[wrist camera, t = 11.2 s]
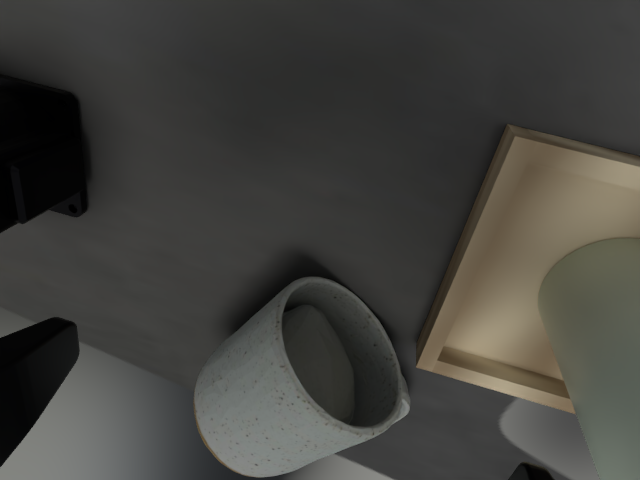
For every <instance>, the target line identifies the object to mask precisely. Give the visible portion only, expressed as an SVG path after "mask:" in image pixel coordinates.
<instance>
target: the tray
mask: <svg viewBox="0 0 640 480" xmlns="http://www.w3.org/2000/svg"><path fill="white" fill-rule="evenodd" d="M616 238H638V239H640V156H636V155H632V154H628V153H624V152H620V151H616V150H612V149H608V148H604V147H600V146H596V145H592V144H587V143H583V142H579V141H575V140H571V139H567V138H563V137H559V136H555V135H551V134H547V133H543V132H539V131H534V130H530V129H526V128H522V127H518V126H514V125H510V124H507V126H506V128H505V130H504V133H503V135H502V138H501V140H500V142H499V145H498V147H497V150H496V152H495V155H494V157H493V159H492V162H491V164H490V167H489V169H488V171H487V174H486V176H485V179H484V181H483V184H482V186H481V188H480V191H479V193H478V196H477V198H476V201H475V203H474V205H473V208H472V210H471V213H470V215H469V217H468V220H467V222H466V225H465V227H464V230H463V232H462V234H461V237H460V239H459V242H458V244H457V246H456V249H455V251H454V254H453V256H452V259H451V261H450V263H449V266H448V268H447V271H446V273H445V275H444V278H443V280H442V283H441V285H440V288H439V290H438V292H437V295H436V297H435V300H434V302H433V305H432V307H431V309H430V312H429V314H428V317H427V319H426V321H425V324H424V326H423V329H422V331H421V334H420V336H419V338H418V341H417V347H416V367H417V368H421V369H424V370H427V371H431V372H434V373H438V374H441V375H444V376H448V377H451V378H455V379H458V380H461V381H465V382H468V383H472V384H475V385H478V386H482V387H485V388H489V389H492V390H495V391H499V392H502V393H506V394H509V395H512V396H516V397H519V398H523V399H526V400H529V401H533V402H536V403H540V404H543V405H546V406H550V407H553V408H557V409H560V410H563V411H567V412H570V413H574V414H576V413H575V410H574V407H573V404H572V402H571V399H570V396H569V393H568V391H567V388H566V385H565V382H564V380H563V377H562V374H561V371H560V369H559V366H558V363H557V360H556V358H555V355H554V352H553V349H552V347H551V344H550V341H549V338H548V336H547V333H546V330H545V327H544V324H543V322H542V319H541V316H540V313H539V309H538V295H539V291H540V287H541V285H542V283H543V281H544V279H545V277H546V276H547V274H548V273H549V272H550V271H551V269H552V268H553V267H554V266H555V265H556V264H557V263H558V262H559V261H561V260H562V259H563V258H565V257H566V256H567V255H569V254H571V253H573V252H574V251H576V250H578V249H580V248H582V247H585V246H587V245H590V244H593V243H596V242H600V241H604V240H609V239H616Z"/></svg>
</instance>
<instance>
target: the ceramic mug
mask: <svg viewBox="0 0 640 480" xmlns="http://www.w3.org/2000/svg"><path fill="white" fill-rule="evenodd" d="M193 404H194V413H195V419H196V423H197V427H198V431H199V433H200V435H201V437H202V439H203V441H204V443H205V445H206V446H207V447H208V449H209V450H210V451H211V452H212V454H213V455H214V456H215V457H216V458H217V459H218V461H219V462H221V463H222V464H223V465H225V466H226V467H228V468H229V469H231V470H232V471H234V472H237V473H240V474H242V475H246V476H251V477H269V476H276V475H280V474H284V473H288V472H292V471H294V470H297V469H299V468H301V467H303V466H305V465H307V464H309V463H311V462H313V461H315V460H318V459H320V458H323V457H326V456H328V455H331V454H333V453H336V452H338V451H341V450H343V449H346V448H348V447H351V446H354V445H356V444H359V443H362V442H364V441H367V440H369V439H371V438H373V437H376V436H378V435H379V434H381V433H383V432H384V431H386V430H387V429H389V427H390V426H391V424H393V423H395V422H397V421H399V420H400V419H402V418H403V417H404V416H405V415H407V414H408V412H409V409H410V398H409V393H408V388H407V384H406V381H405V379H404V377H403V375H402V374H401V370H400V364H399V362H398V359H397V355H396V353H395V350H394V348H393V346H392V343H391V341H390V339H389V337H388V335H387V334H386V332H385V330H384V328H383V326H382V325H381V323H380V322H379V320H378V319H377V318H376V316H375V315H374V314H373V313H372V311H371V310H370V309H369V308H368V307H367V306H366V305H365V304H364V303H363V302H362V301H361V300H360V299H359V298H358V297H357V296H356V295H355V294H353V293H352V292H351V291H349V290H348V289H347V288H346V287H344V286H342V285H340V284H338V283H336V282H334V281H332V280H329V279H326V278H322V277H304V278H300V279H298V280H295V281H293V282H292V283H290V284H289V285H288V286H286V287H285V288H284V289H283V290H282V291H281V292H280V293H278V294H277V295H276V296H275V297H274V298H273V299H272V300H271V301H270V302H269V303H268V304H266V305H265V306H264V307H263V308H262V309H261V310H259V311H258V312H257V313H256V314H255V315H253V316H252V317H251V318H250V319H249V320H248V321H247V322H246V323H245V324H244V325H243V326H242V327H241V328H240V329H239V330H237V331H236V332H235V333H234V334H233V335H231V336H230V337H229V338H228V339H226V340H225V341H224V342H223V343H222V344H221V345H220V346H219V347H218V348H217V349H216V350H215V351H214V352H213V354H212V355H211V357H210V358H209V359H208V361H207V362H206V363H205V365H204V367H203V368H202V370H201V371H200V374H199V377H198V379H197V382H196V386H195V391H194V403H193Z"/></svg>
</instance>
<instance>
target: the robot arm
mask: <svg viewBox="0 0 640 480" xmlns="http://www.w3.org/2000/svg"><path fill="white" fill-rule="evenodd" d="M63 100H65V102H66V103H67V107H66V106H65V105H64V103H63ZM74 205H75V206H76V207H77V209H76V208H75V207H74ZM86 209H87V206H86V195H85V180H84V168H83V157H82V145H81V136H80V125H79V113H78V104H77V100H76V99H75V97H74V96H73V95H72V94H71V93H69V92H66V91H62V90H59V89H55V88H51V87H47V86H43V85H39V84H35V83H32V82H28V81H24V80H20V79H16V78H12V77H9V76H5V75H1V74H0V233H1V232H3V231H5V230H7V229H8V228H10V227H12V226H14V225H16V224H17V223H21V224H24V223H26V222H28V221H30V220H32V219H33V218H35V217H37V216H39V215H40V214H42V213H44V212H46V211H47V210H51V211H55V212H58V213H62V214H65V215H69V216H72V217H79V216H81V215H82V214H84V213H85V212H86ZM78 356H79V341H78V332H77V326H76V324H75V323H74V322H72V321H69V320H66V319H63V318H59V317H53V318H50V319H47V320H45V321H42V322H40V323H37V324H34V325H32V326H29V327H27V328H24V329H22V330H19V331H17V332H14V333H12V334H9V335H7V336H4V337H1V338H0V467H1V466H2V465H3V463H4V462H5V461H6V460H7V458H8V457H9V456H10V455H11V454H12V452H13V451H14V450H15V449H16V447H17V446H18V445H19V444H20V443H21V441H22V440H23V439H24V437H25V436H26V435H27V433H28V432H29V431H30V429H31V428H32V427H33V425H34V424H35V423H36V421H37V420H38V419H39V417H40V415H41V414H42V413H43V411H44V410H45V408H46V406H47V405H48V403H49V402H50V400H51V399H52V398H53V396H54V395H55V393H56V392H57V390H58V389H59V387H60V386H61V384H62V383H63V381H64V380H65V378H66V377H67V375H68V374H69V372H70V371H71V369H72V368H73V366H74V364H75V363H76V361H77V359H78ZM508 480H554V478H553V477H552V475H551V474H550V473H549V471H548V470H547V469H545V468H544V467H541V466H538V465H535V464H532V463H529V462H522V463H520V464H519V465H518V467H517V468H516V470H515V471H514V472H513V474H512V475H511V477H510V478H509V479H508Z"/></svg>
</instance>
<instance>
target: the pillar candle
mask: <svg viewBox="0 0 640 480" xmlns="http://www.w3.org/2000/svg"><path fill="white" fill-rule="evenodd" d="M538 309H539V313H540V316H541V319H542V322H543V324H544V327H545V330H546V333H547V336H548V338H549V341H550V344H551V347H552V349H553V352H554V355H555V358H556V360H557V363H558V366H559V369H560V371H561V374H562V377H563V380H564V382H565V385H566V388H567V391H568V393H569V396H570V399H571V402H572V404H573V407H574V410H575V413H576V415H577V418H578V421H579V424H580V427H581V429H582V432H583V435H584V438H585V440H586V443H587V446H588V448H589V451H590V454H591V457H592V460H593V462H594V465H595V468H596V471H597V473H598V476H599V479H600V480H640V239H638V238H616V239H609V240H604V241H600V242H596V243H593V244H590V245H587V246H585V247H582V248H580V249H578V250H576V251H574V252H573V253H571V254H569V255H567V256H566V257H565V258H563V259H562V260H561V261H559V262H558V263H557V264H556V265H555V266H554V267H553V268H552V269H551V271H550V272H549V273H548V274H547V276H546V277H545V279H544V281H543V283H542V285H541V287H540V291H539V295H538Z"/></svg>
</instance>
